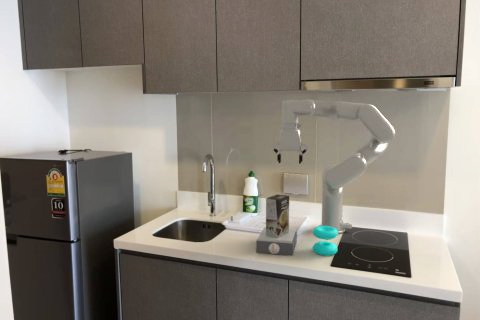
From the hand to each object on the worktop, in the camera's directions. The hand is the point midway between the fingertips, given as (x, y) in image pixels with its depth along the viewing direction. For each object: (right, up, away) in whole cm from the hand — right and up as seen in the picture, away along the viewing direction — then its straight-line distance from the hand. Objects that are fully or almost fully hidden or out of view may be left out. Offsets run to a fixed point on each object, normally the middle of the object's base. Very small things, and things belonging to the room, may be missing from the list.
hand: (289, 162), depth 187 cm
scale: (-8, -36, -19) cm, 41 cm away
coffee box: (-8, -30, -19) cm, 37 cm away
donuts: (+11, -37, -24) cm, 45 cm away
